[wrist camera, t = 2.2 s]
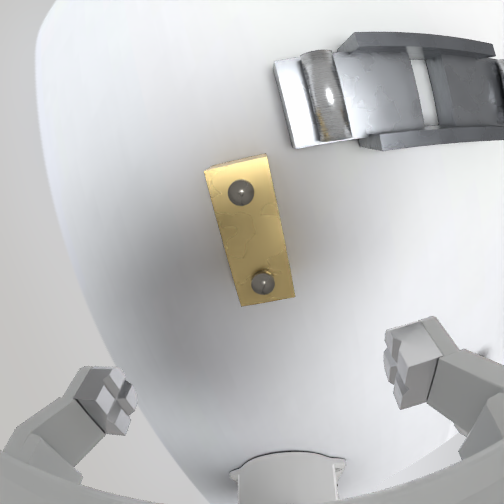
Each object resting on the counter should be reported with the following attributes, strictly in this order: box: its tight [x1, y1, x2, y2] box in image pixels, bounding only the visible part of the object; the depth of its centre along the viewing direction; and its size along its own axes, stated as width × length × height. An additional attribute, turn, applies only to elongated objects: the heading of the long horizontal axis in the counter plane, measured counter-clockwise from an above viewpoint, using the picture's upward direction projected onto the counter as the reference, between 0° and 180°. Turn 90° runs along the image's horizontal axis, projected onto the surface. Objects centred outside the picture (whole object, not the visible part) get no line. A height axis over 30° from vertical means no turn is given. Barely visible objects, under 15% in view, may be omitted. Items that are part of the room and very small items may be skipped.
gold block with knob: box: [204, 153, 295, 307], centre depth 21 cm, size 4×10×4 cm, turn 13°
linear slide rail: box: [273, 32, 504, 151], centre depth 16 cm, size 8×22×4 cm, turn 103°
